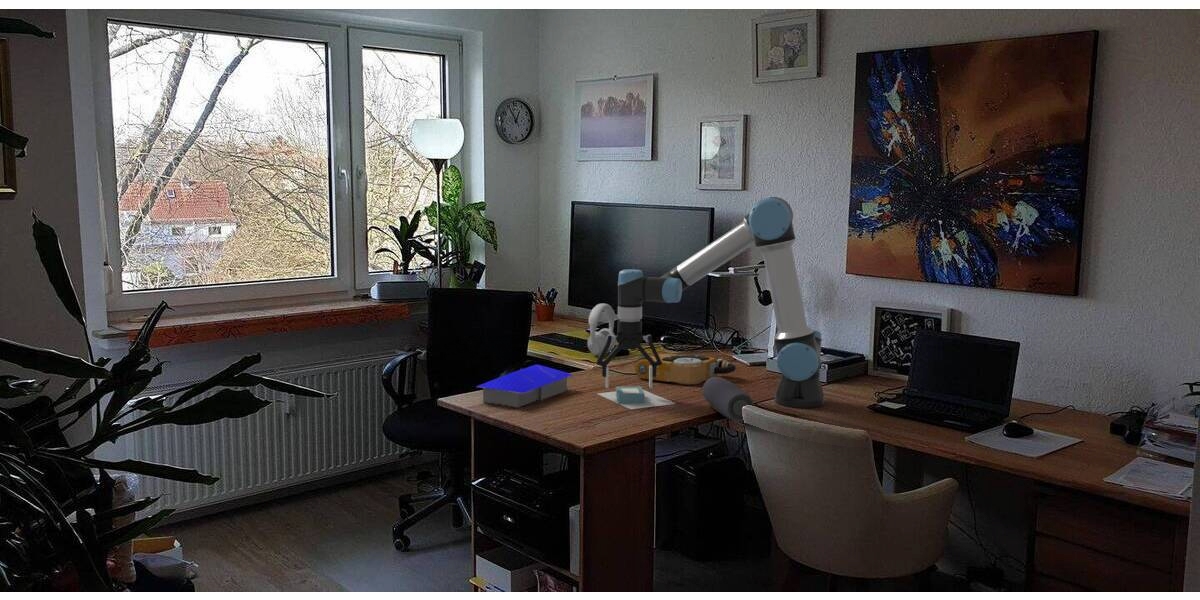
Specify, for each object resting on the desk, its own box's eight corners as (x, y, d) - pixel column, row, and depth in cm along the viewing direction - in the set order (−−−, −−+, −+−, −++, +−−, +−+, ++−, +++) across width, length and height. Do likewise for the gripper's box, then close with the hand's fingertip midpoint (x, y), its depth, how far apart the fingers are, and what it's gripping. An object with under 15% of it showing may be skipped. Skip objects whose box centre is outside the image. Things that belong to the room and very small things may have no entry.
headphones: (602, 350, 386) (602, 300, 384) (620, 351, 383) (620, 301, 380) (582, 358, 370) (582, 306, 367) (601, 360, 367) (601, 307, 364)
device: (663, 346, 352) (740, 355, 337) (662, 368, 353) (739, 378, 338) (632, 356, 333) (712, 366, 318) (631, 380, 334) (711, 391, 319)
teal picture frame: (641, 386, 308) (644, 393, 298) (640, 395, 308) (644, 403, 299) (615, 386, 307) (618, 393, 298) (615, 395, 308) (618, 403, 298)
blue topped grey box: (523, 410, 292) (523, 379, 291) (476, 403, 300) (475, 373, 299) (573, 390, 318) (573, 362, 317) (528, 384, 326) (528, 357, 325)
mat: (676, 405, 299) (676, 403, 299) (630, 411, 292) (630, 409, 291) (640, 390, 318) (640, 388, 318) (596, 395, 311) (596, 393, 311)
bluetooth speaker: (756, 425, 277) (757, 391, 276) (725, 427, 275) (726, 392, 274) (729, 406, 299) (730, 374, 298) (700, 407, 297) (700, 375, 296)
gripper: (668, 317, 306) (667, 384, 309) (588, 317, 304) (588, 384, 307) (671, 321, 298) (670, 389, 301) (589, 321, 297) (589, 389, 300)
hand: (628, 387), depth 304 cm, fingers open, 13 cm apart
